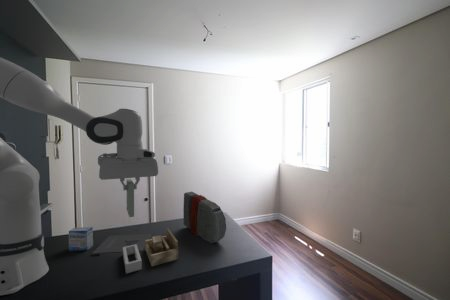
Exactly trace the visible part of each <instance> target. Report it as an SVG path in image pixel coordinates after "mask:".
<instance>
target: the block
mask: <svg viewBox="0 0 450 300" xmlns="http://www.w3.org/2000/svg"><path fill="white" fill-rule="evenodd" d="M125 180H126V183H125V185H128V190H126V211H127V213H128V217H129V218H133V217H134V218H135V189H134V184H135V182H134V181H133V180H132V178H125Z"/></svg>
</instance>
